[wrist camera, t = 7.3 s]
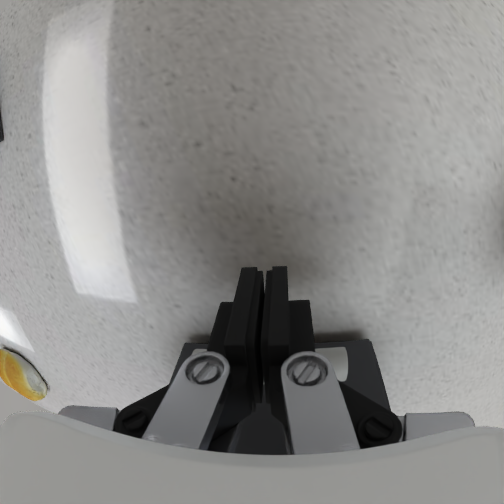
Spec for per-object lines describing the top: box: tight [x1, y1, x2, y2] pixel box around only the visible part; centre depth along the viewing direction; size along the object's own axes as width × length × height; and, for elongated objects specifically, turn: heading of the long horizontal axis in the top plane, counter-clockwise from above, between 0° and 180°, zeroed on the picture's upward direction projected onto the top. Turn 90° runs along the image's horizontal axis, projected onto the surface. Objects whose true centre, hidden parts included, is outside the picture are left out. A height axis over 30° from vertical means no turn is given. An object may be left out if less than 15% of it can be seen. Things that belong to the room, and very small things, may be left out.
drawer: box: [169, 339, 389, 455], centre depth 15 cm, size 18×12×8 cm, turn 5°
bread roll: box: [0, 349, 47, 401], centre depth 24 cm, size 8×9×4 cm
